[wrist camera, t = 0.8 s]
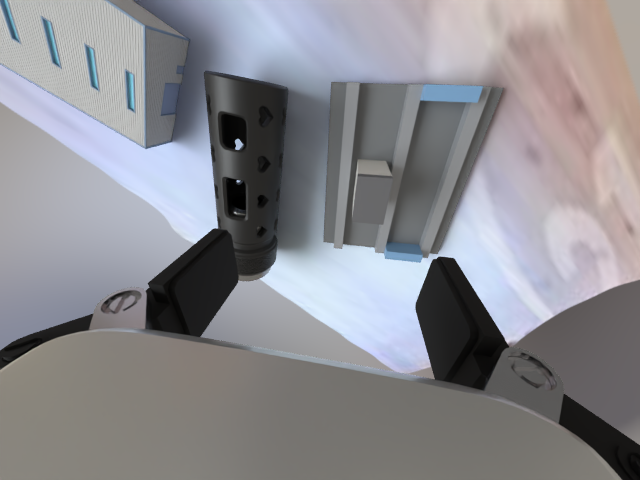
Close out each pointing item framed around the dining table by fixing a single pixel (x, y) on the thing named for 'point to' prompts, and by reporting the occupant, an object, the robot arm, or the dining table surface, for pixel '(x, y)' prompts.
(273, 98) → the muzzle brake
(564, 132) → the dining table surface
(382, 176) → the grey rectangular prism
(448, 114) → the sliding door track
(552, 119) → the dining table surface
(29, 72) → the warehouse
